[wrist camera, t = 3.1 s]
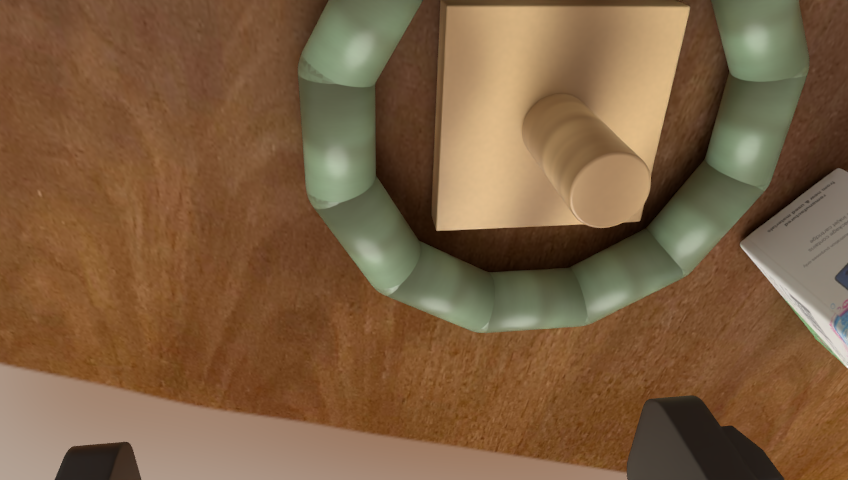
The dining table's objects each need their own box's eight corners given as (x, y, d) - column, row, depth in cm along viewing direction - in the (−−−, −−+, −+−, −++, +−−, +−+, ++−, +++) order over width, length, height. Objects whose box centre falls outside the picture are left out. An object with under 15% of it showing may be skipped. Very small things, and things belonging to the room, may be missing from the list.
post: (431, 216, 25) (461, 314, 20) (440, -3, 21) (482, 48, 15) (628, 207, 26) (707, 298, 21) (674, -2, 22) (787, 46, 17)
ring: (316, 318, 27) (316, 357, 25) (281, -180, 18) (277, -183, 16) (705, 294, 29) (734, 327, 27) (846, -157, 20) (906, -157, 18)
